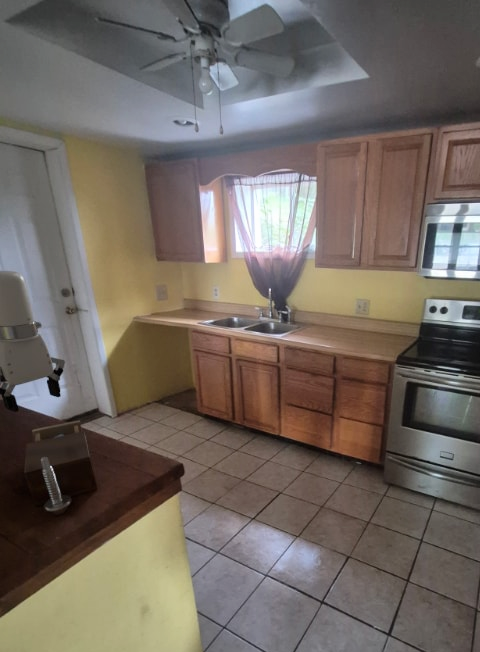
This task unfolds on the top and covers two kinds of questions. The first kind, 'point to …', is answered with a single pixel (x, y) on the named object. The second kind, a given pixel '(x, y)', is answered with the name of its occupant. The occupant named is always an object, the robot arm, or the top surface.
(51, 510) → the screw
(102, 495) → the top surface
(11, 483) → the top surface
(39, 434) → the drawer
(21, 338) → the robot arm
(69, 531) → the top surface
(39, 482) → the cabinet
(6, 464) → the top surface
